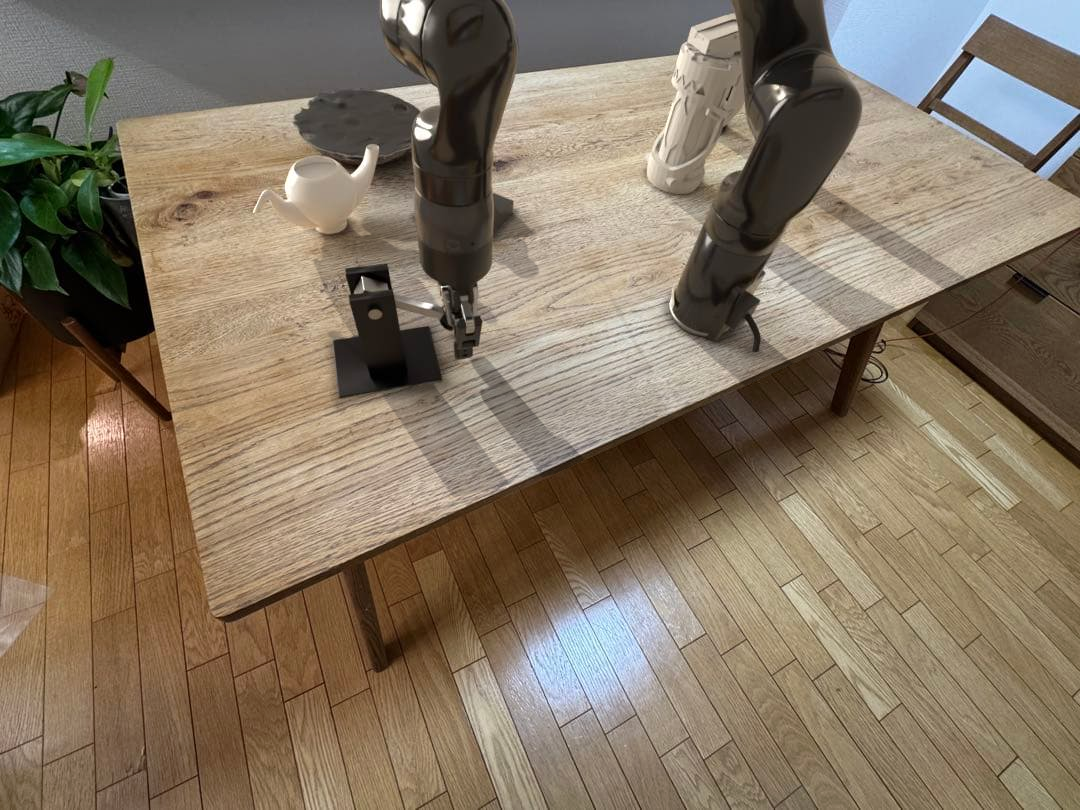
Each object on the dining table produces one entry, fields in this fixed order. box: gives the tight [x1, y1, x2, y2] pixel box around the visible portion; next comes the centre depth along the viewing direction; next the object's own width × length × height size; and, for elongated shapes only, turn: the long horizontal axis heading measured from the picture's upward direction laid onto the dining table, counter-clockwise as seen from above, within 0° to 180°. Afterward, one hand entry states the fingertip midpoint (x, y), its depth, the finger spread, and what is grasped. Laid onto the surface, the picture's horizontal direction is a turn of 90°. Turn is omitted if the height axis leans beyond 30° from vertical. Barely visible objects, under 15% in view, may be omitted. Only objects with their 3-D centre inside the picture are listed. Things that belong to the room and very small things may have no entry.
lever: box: [354, 276, 462, 333], centre depth 58 cm, size 13×4×4 cm
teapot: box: [252, 144, 379, 235], centre depth 74 cm, size 10×20×9 cm, turn 134°
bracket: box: [332, 263, 443, 399], centre depth 59 cm, size 12×9×14 cm
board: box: [292, 87, 422, 166], centre depth 89 cm, size 22×22×5 cm
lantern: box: [643, 13, 745, 195], centre depth 85 cm, size 13×10×25 cm
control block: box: [492, 192, 515, 234], centre depth 81 cm, size 12×10×4 cm
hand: (459, 340), depth 65 cm, fingers open, 4 cm apart
